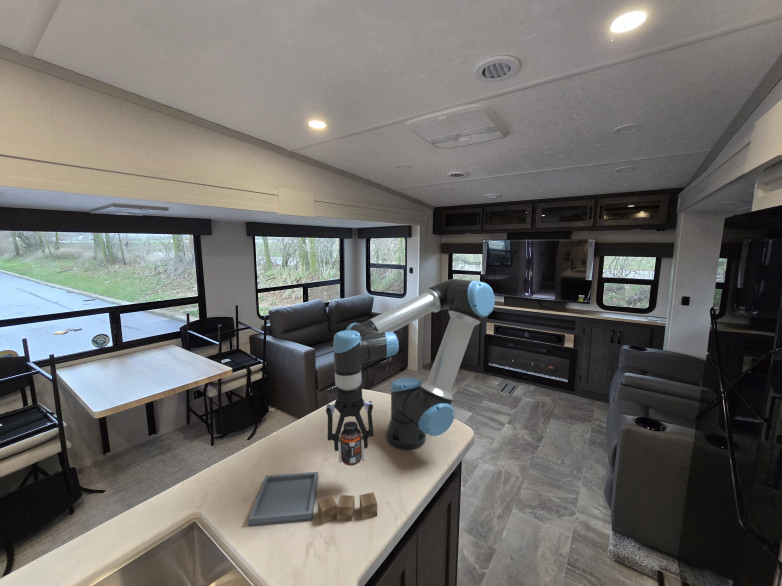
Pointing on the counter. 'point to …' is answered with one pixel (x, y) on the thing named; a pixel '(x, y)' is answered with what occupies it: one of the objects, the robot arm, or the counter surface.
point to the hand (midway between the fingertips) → (351, 458)
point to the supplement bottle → (351, 444)
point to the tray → (285, 499)
